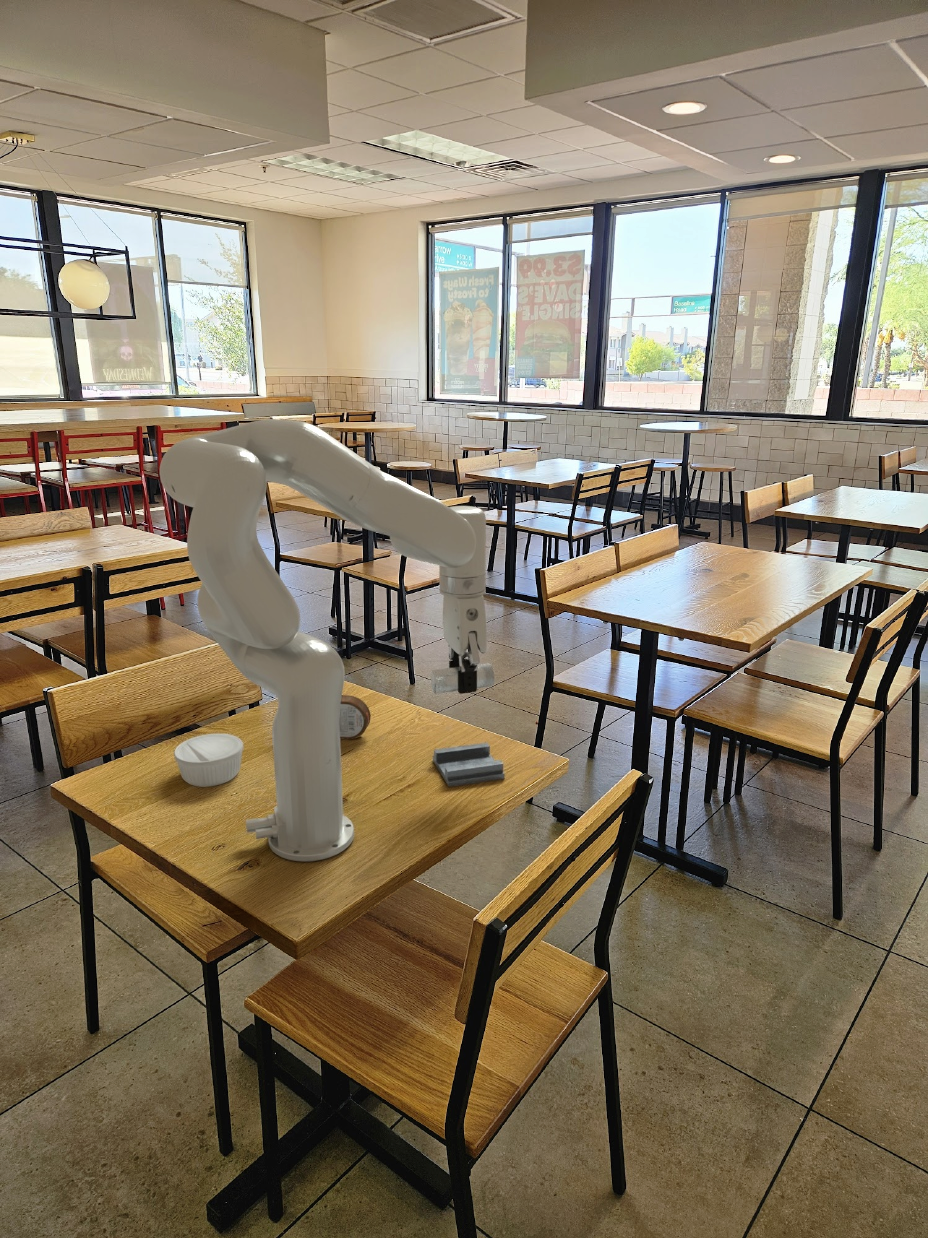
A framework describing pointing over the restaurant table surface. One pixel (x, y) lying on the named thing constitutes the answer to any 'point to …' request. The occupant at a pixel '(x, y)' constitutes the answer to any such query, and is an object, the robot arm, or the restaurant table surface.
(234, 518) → the robot arm
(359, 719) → the tin
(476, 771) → the v block
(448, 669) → the clear cylinder
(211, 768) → the ramekin
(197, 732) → the restaurant table surface
